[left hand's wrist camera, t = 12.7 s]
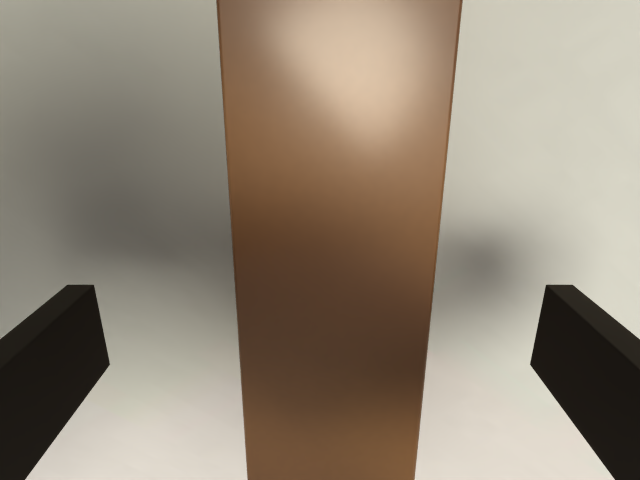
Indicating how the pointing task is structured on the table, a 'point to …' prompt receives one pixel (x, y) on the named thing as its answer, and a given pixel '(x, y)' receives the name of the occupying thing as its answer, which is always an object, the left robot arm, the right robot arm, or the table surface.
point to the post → (335, 224)
